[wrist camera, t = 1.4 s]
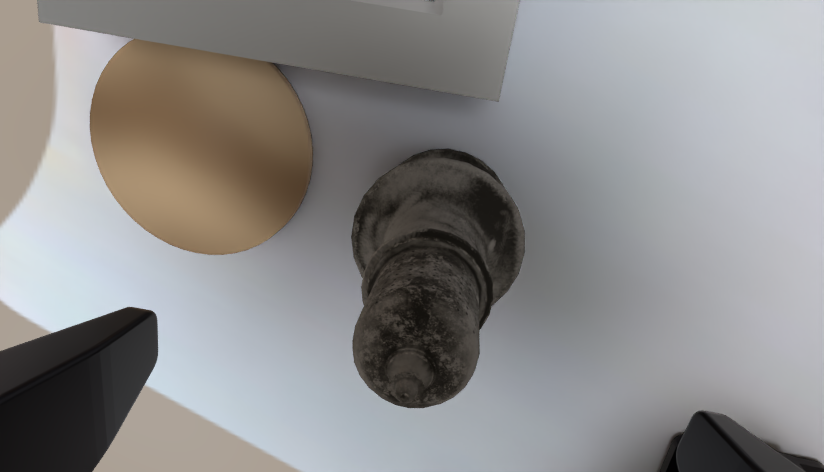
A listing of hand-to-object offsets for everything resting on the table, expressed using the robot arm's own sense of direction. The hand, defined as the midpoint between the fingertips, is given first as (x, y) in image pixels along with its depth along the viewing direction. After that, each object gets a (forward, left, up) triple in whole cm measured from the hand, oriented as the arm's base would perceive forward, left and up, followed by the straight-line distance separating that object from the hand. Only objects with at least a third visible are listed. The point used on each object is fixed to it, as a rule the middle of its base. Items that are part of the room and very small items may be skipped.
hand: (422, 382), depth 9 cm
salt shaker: (-1, 0, -13) cm, 13 cm away
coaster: (0, +10, -13) cm, 16 cm away
